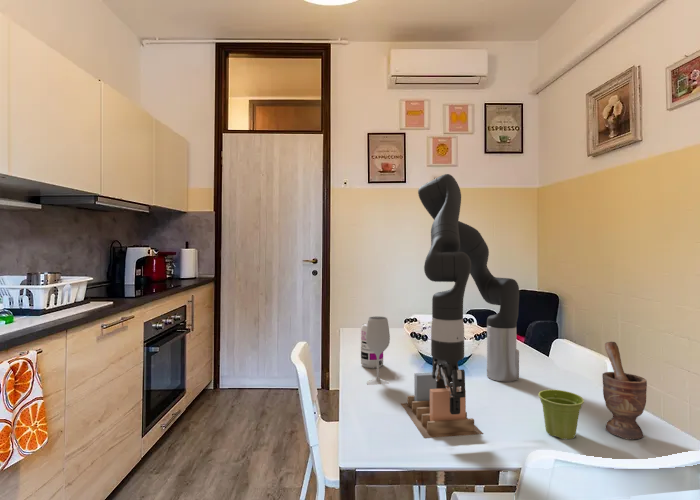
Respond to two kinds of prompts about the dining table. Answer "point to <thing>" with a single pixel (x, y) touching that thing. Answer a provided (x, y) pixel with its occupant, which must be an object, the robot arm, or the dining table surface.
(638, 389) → the mortar and pestle
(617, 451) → the dining table surface
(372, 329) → the wineglass
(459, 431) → the dish rack
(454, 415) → the salmon pink rectangular prism
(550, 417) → the plant pot
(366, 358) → the supplement can
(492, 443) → the dining table surface
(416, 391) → the grey-blue thick slab
